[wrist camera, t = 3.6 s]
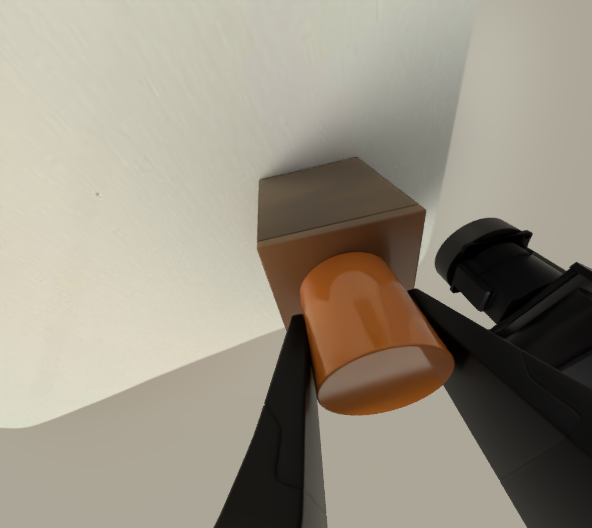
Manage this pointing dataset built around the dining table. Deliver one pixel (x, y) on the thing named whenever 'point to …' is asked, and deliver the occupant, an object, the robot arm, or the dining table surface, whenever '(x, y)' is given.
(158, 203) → the dining table surface
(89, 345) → the dining table surface
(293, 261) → the brown rectangular block
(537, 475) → the robot arm
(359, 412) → the orange cylinder
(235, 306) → the dining table surface
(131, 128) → the dining table surface
